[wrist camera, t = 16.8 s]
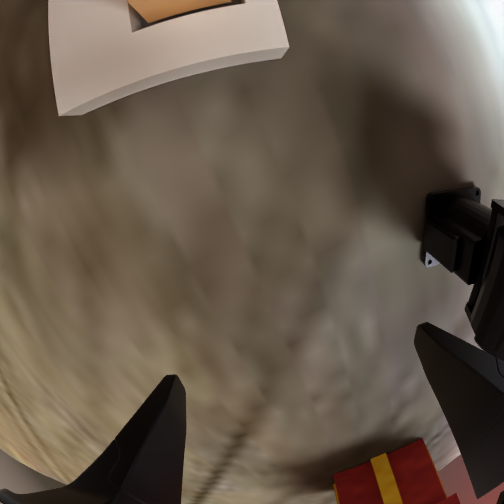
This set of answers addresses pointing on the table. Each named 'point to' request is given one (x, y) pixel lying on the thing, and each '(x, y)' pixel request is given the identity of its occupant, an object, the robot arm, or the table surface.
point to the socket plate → (151, 46)
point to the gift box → (393, 480)
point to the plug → (169, 7)
